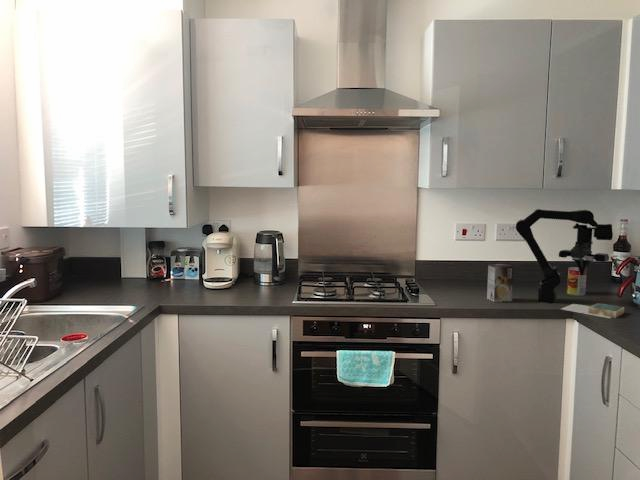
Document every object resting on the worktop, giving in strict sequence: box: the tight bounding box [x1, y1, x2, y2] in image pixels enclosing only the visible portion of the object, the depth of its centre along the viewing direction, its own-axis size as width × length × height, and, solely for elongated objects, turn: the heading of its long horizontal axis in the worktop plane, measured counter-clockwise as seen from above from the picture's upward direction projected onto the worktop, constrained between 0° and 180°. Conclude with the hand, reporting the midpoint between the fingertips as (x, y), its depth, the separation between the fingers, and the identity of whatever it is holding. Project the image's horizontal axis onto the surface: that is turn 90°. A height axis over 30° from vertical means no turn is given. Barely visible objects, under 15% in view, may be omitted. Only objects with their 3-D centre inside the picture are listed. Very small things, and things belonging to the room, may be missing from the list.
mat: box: [561, 303, 613, 319], centre depth 216 cm, size 19×14×1 cm
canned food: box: [566, 266, 588, 296], centre depth 249 cm, size 8×8×12 cm
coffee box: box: [486, 263, 514, 303], centre depth 234 cm, size 9×6×16 cm
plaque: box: [588, 302, 625, 319], centre depth 211 cm, size 3×10×10 cm
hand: (582, 275), depth 226 cm, fingers closed
